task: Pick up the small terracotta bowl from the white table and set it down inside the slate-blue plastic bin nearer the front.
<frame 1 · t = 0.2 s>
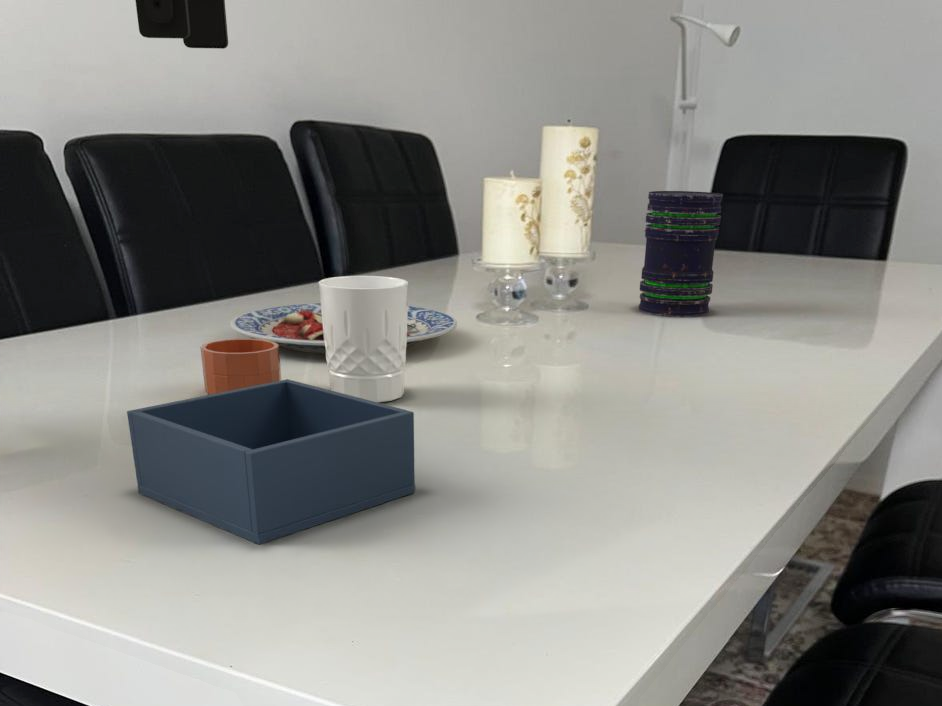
hand: (187, 43, 69), 27 cm above the table, tool pointing down, fingers open, 9 cm apart
white cup: (367, 397, 93), on the table
bin: (277, 493, 68), on the table
ceramic plate: (346, 341, 115), on the table
storage jar: (673, 312, 138), on the table
bowl: (244, 394, 92), on the table
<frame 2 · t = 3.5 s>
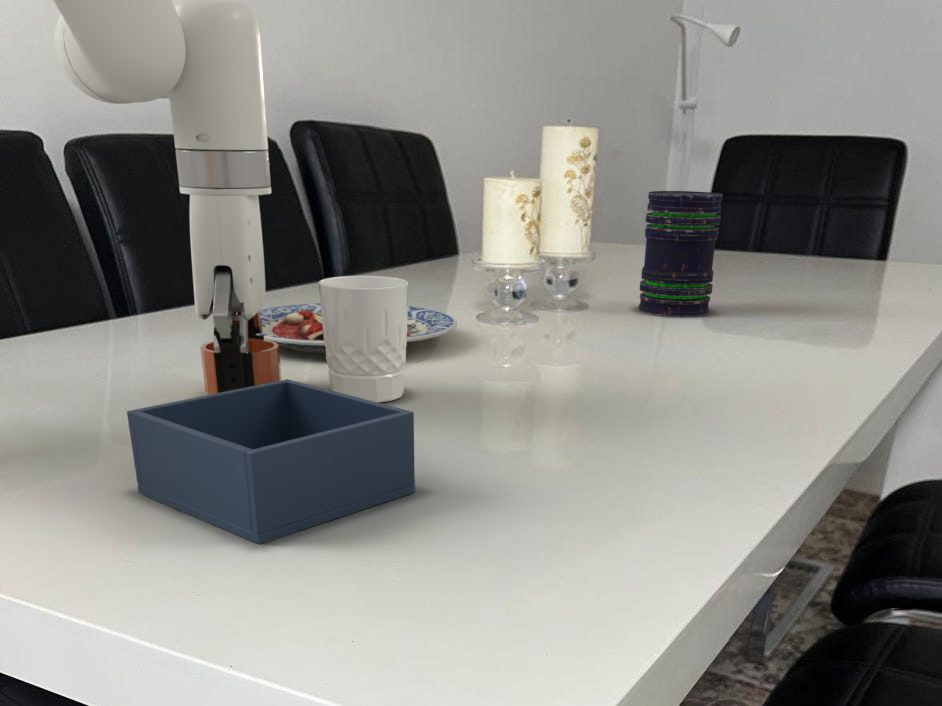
hand: (243, 386, 91), 1 cm above the table, tool pointing down, fingers closed on bowl, 6 cm apart
bowl: (244, 394, 92), on the table, touching gripper
everything else where it was.
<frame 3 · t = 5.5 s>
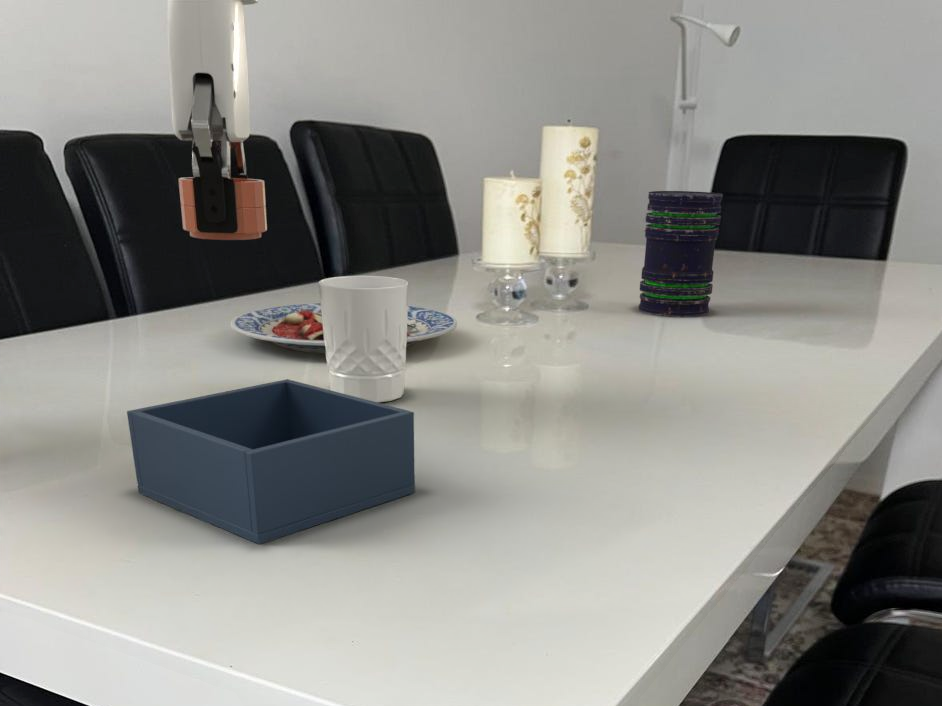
hand: (225, 226, 84), 14 cm above the table, tool pointing down, fingers closed on bowl, 6 cm apart
bowl: (226, 236, 84), point 14 cm above the table, touching gripper
everything else where it was.
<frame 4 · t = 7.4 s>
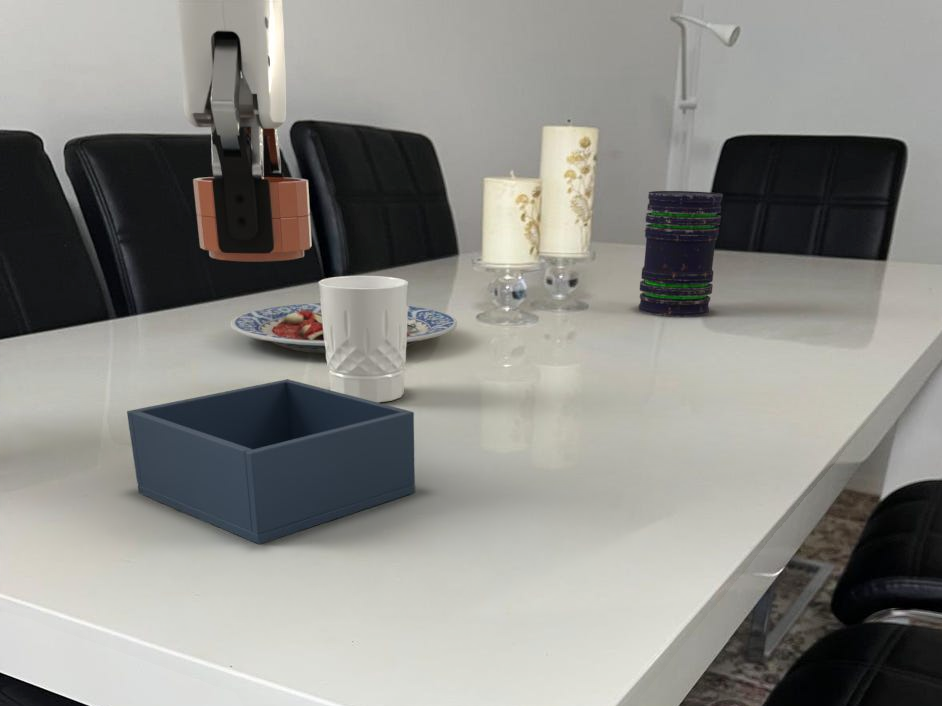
hand: (255, 243, 63), 16 cm above the table, tool pointing down, fingers closed on bowl, 6 cm apart
bowl: (257, 255, 63), point 15 cm above the table, touching gripper
everything else where it was.
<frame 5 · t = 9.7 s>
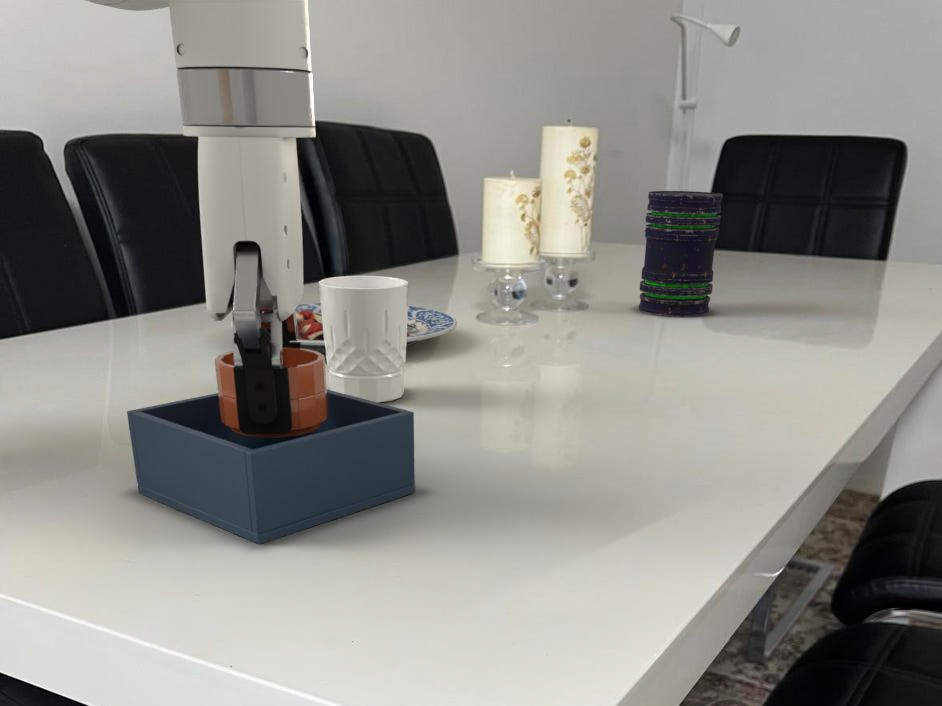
hand: (274, 414, 65), 5 cm above the table, tool pointing down, fingers closed on bowl, 6 cm apart
bowl: (275, 425, 66), point 5 cm above the table, touching gripper
everything else where it was.
when the fingers open (1 cm above the table, at t = 11.4 s): bowl stays where it is, resting on bin.
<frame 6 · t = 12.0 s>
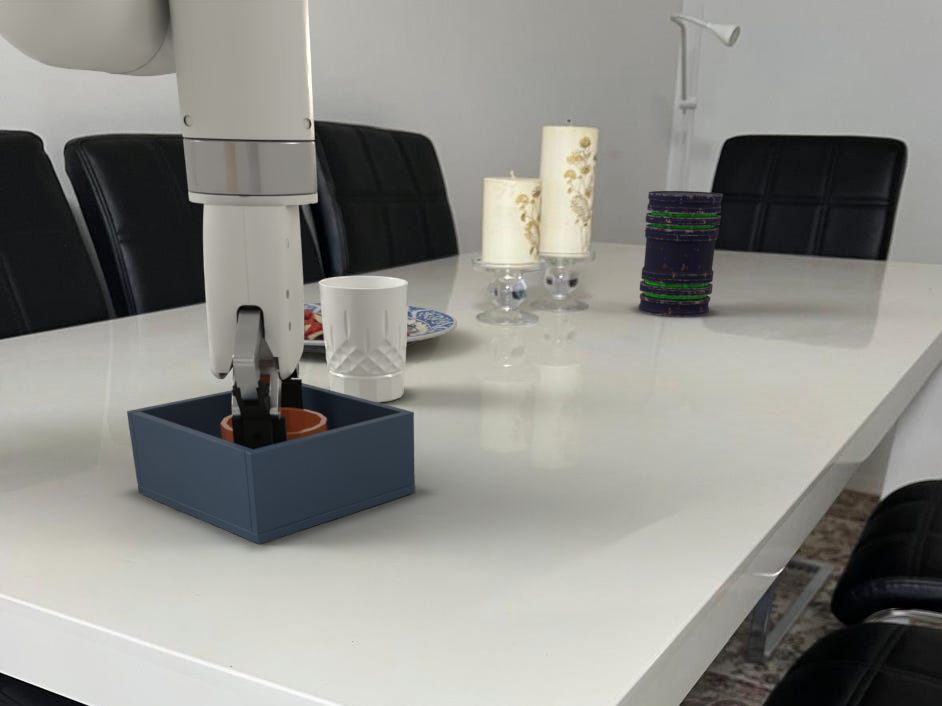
hand: (273, 456, 67), 3 cm above the table, tool pointing down, fingers open, 9 cm apart
bowl: (279, 484, 67), point 1 cm above the table, touching bin
everything else where it was.
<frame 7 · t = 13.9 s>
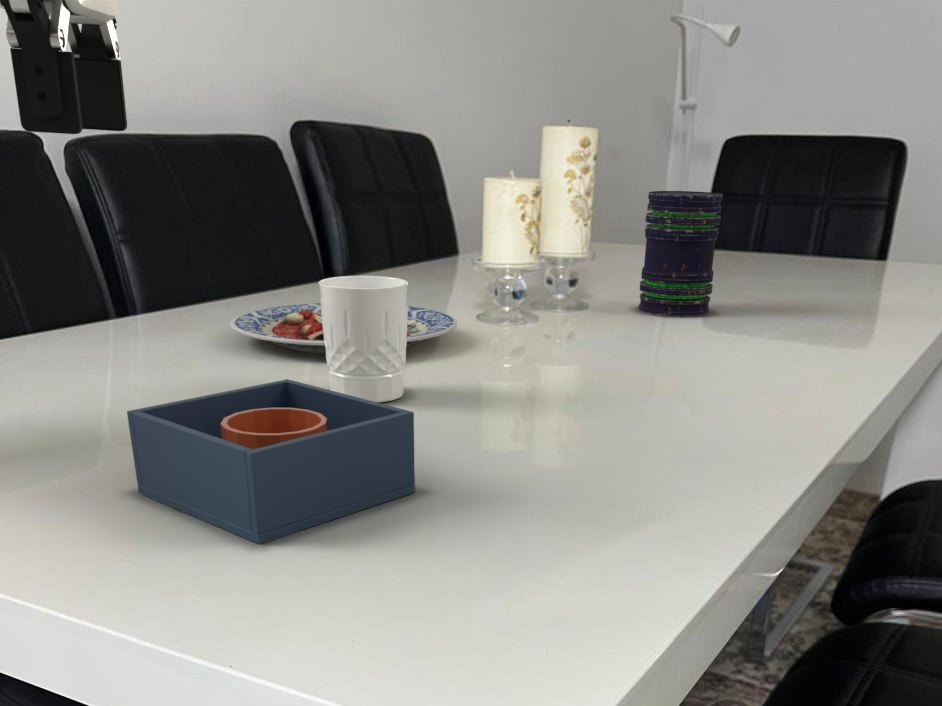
hand: (78, 131, 60), 22 cm above the table, tool pointing down, fingers open, 9 cm apart
nothing on the table moved.
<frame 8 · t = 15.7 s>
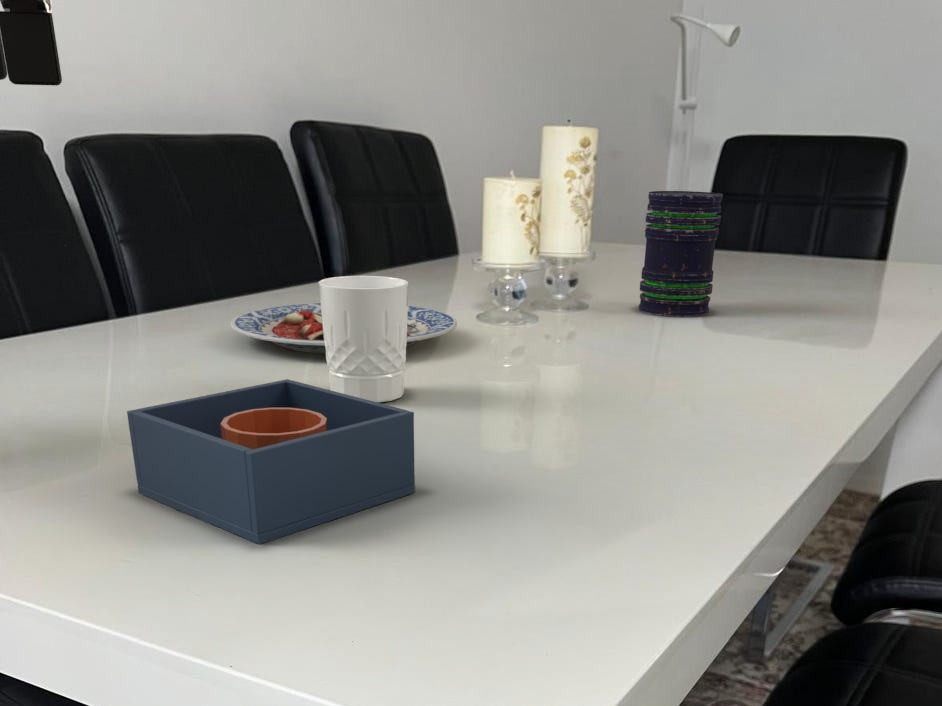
hand: (9, 81, 60), 24 cm above the table, tool pointing down, fingers open, 9 cm apart
nothing on the table moved.
at the end: bowl inside the target area in the bin (0.1 cm from its centre), point 0.6 cm above the bin's base; bowl tilted 0°; the gripper is holding nothing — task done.
